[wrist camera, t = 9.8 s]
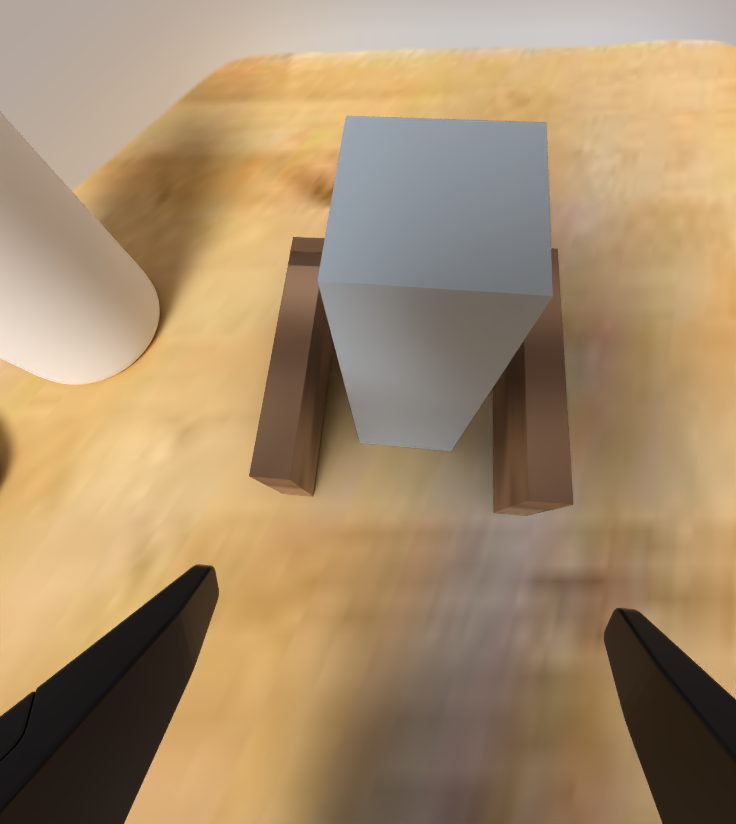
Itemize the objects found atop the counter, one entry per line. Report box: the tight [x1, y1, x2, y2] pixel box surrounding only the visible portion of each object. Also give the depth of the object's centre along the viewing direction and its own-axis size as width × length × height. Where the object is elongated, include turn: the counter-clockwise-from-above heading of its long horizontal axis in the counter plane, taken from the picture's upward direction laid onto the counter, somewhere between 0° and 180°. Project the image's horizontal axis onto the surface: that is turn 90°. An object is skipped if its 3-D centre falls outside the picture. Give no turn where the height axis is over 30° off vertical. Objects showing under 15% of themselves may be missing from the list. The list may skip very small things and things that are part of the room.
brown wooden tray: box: [249, 237, 573, 516], centre depth 19 cm, size 11×12×5 cm
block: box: [318, 116, 553, 451], centre depth 15 cm, size 4×4×13 cm
